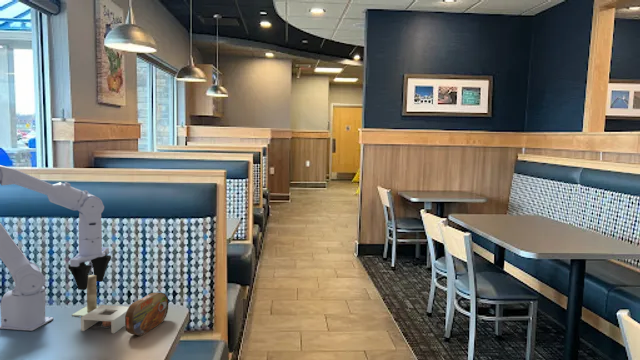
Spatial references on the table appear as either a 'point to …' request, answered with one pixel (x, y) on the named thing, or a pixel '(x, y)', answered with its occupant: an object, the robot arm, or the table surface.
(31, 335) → the table surface
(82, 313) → the mat
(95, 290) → the wooden block
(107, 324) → the button
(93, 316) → the box
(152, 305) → the tin
